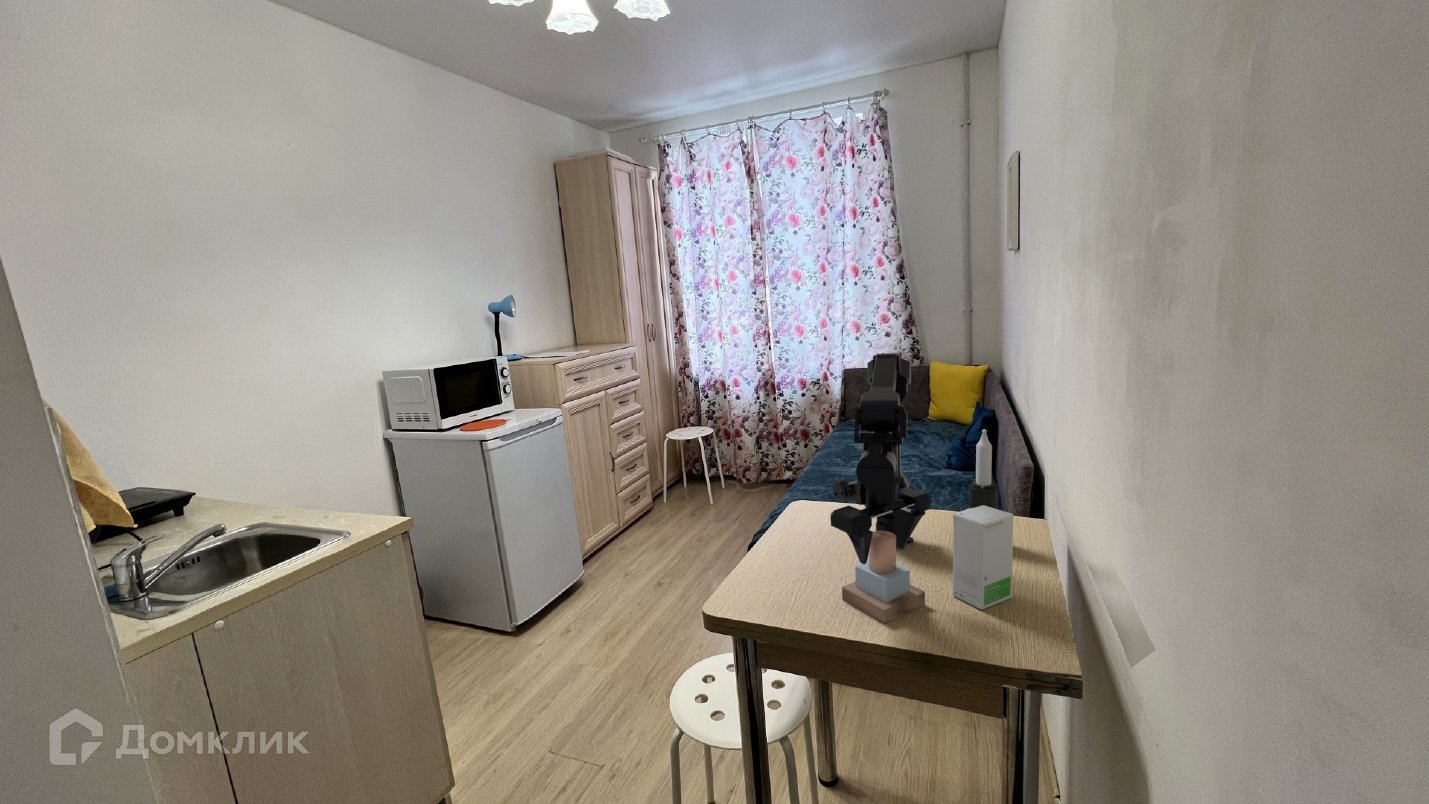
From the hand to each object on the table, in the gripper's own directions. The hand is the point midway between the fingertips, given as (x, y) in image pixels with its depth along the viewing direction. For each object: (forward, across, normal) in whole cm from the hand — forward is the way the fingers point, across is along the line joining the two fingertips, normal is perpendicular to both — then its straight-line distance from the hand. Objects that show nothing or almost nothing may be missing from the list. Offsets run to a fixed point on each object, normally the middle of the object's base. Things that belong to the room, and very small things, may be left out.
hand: (882, 555), depth 103 cm
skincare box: (+9, -15, +9) cm, 20 cm away
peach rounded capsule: (+2, 0, 0) cm, 2 cm away
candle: (+9, -34, -4) cm, 35 cm away
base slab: (+9, 0, 0) cm, 9 cm away
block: (+6, 0, 0) cm, 6 cm away
